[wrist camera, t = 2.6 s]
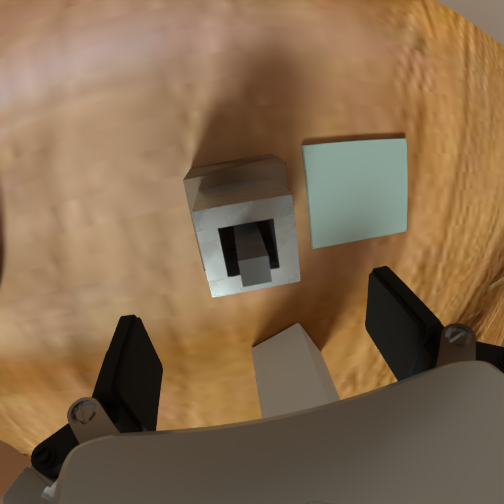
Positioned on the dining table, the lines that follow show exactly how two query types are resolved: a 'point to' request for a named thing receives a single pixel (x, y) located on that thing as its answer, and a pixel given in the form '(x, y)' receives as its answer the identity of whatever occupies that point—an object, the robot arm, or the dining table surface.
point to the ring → (240, 212)
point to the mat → (355, 189)
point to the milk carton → (291, 374)
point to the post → (248, 234)
